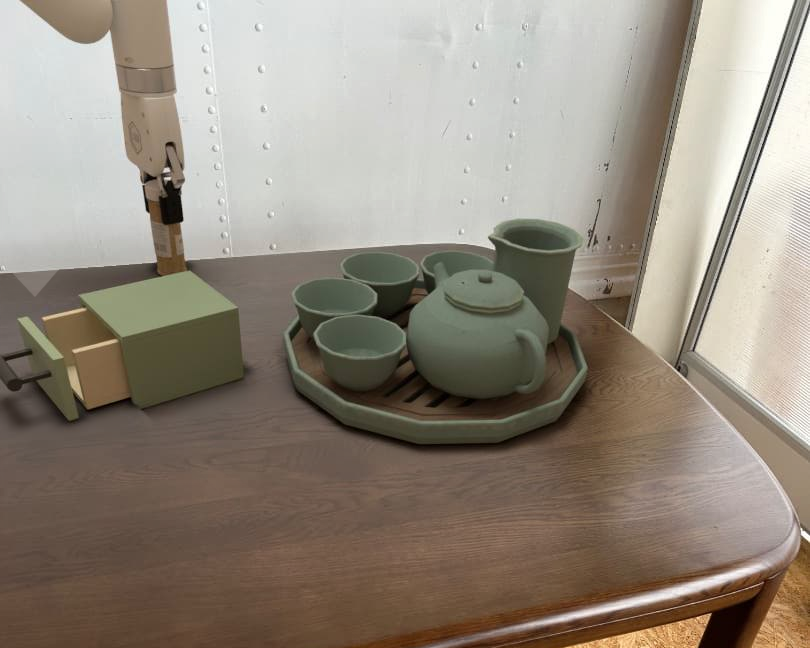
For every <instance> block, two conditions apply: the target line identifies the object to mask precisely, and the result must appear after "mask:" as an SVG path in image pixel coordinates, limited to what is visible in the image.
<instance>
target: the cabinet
mask: <svg viewBox="0 0 810 648" xmlns="http://www.w3.org/2000/svg"><path fill="white" fill-rule="evenodd" d="M78 300H79V305H80V309H81V308H85V307H86V308H87V309H89V310H90V311H91V312H92V313H93V314H94V315H95V316H96V317H97V318H98V319H99V320H100V321H101V322H102V323H103V324H104V325H105V326H106V327H107V328H108V329H109V330H110V331H111V332H112V333H113V334H114V335H115V336H116V337H117V338H118V339H119V340H120V342H121V347H122V353H123V358H124V363H125V368H126V373H127V378H128V384H129V389H130V394H131V397H129V399H130V400H131V402H132V403H133V405H136V406H137V407H138V408H139V409H140V410H143V409H146V408H149V407H153V406H155V405H159V404H163V403H166V402H169V401H172V400H175V399H179V398H181V397H184V396H185V397H186V396H189V395H192V394H195V393H199V392H201V391H205V390H209V389H211V388H214V387H218V386H222V385H225V384H228V383H231V382H234V381H238V380H241V379H244V377H245V376H244V360H243V349H242V338H241V337H242V335H241V325H240V315H239V313H240V312H239V307H238V306H237V305H236V304H234V303H233V302H231V300H229V299H228V298H227V297H225V296H224V295H222V294H221V293H220V292H219V291H217V290H216V289H214V287H212V286H211V285H210V284H208V283H207V282H205V280H203V279H202V278H200V277H199V276H198V275H197V274H195V273H194V272H193V271H191V270H187V271H185V272H180V273H176V274H171V275H167V276H158V277H154V278H153V277H152V278H149V279H145V280H140V281H135V282H131V283H126V284H122V285H117V286H113V287H108V288H104V289H100V290H99V289H98V290H95V291H91V292H85V293H81V294H78Z"/></svg>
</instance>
